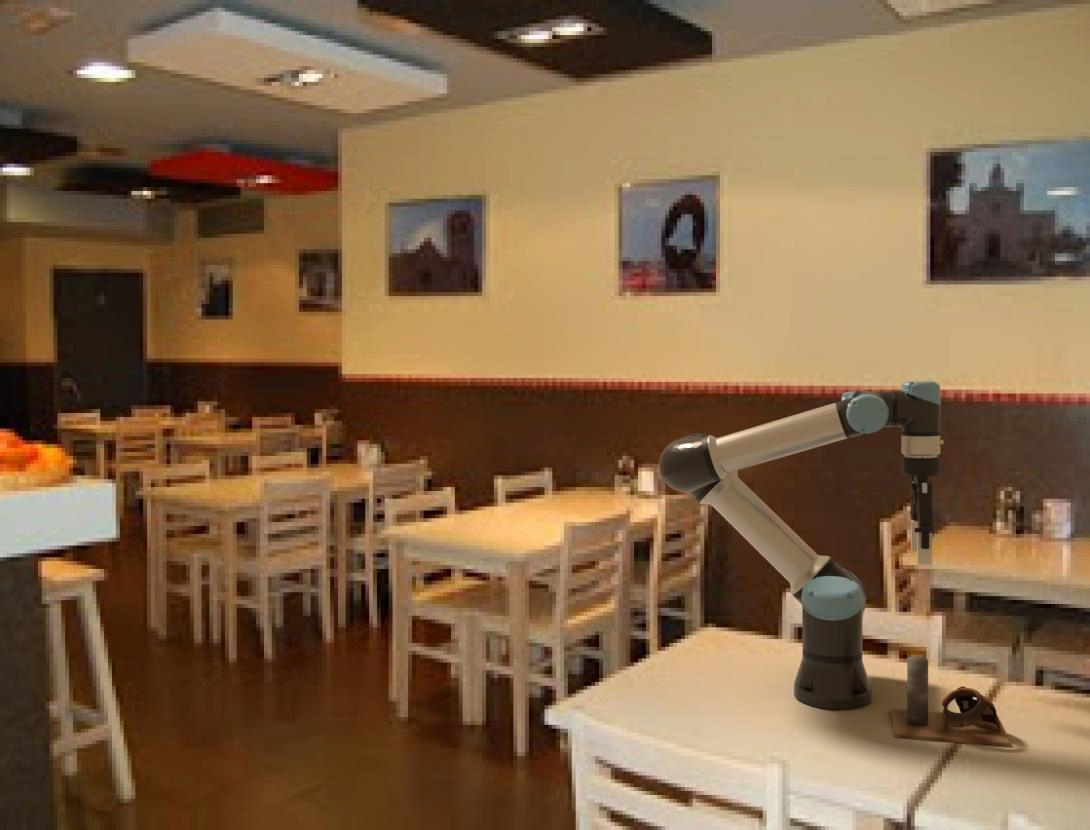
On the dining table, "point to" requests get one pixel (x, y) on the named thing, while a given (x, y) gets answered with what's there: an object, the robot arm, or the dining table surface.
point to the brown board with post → (935, 715)
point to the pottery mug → (969, 709)
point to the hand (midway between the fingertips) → (921, 557)
